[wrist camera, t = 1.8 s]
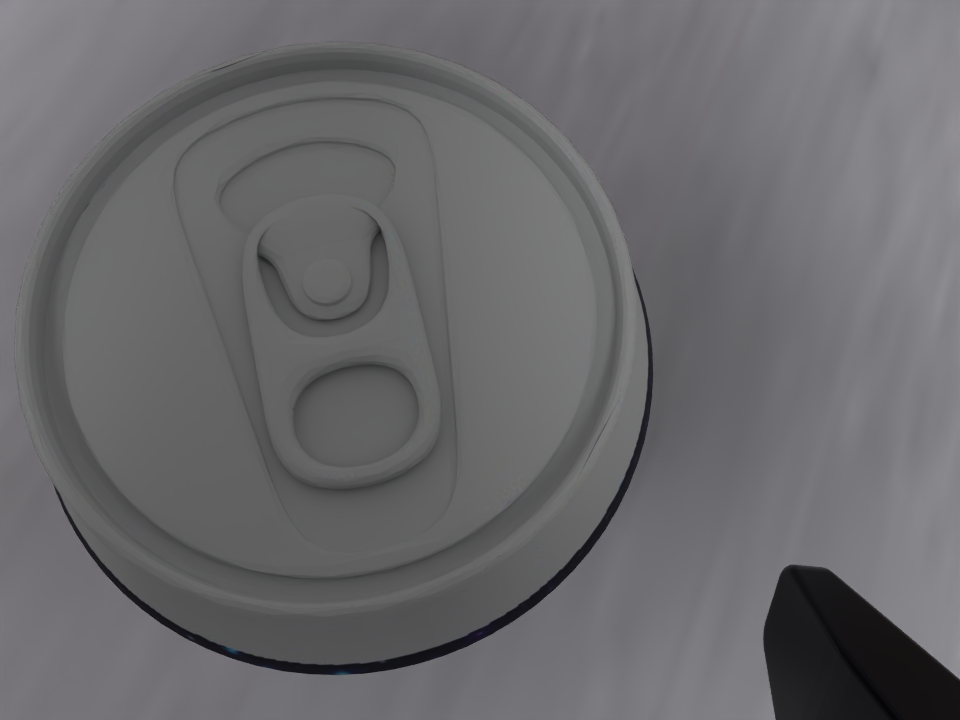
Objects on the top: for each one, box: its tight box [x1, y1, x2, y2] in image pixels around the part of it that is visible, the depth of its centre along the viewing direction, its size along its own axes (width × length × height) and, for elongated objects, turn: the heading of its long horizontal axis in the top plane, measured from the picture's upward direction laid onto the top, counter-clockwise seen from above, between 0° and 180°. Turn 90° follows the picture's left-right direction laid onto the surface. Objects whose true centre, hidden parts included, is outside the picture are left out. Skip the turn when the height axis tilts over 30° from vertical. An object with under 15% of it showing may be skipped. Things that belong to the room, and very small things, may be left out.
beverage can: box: [14, 42, 653, 675], centre depth 12 cm, size 6×6×12 cm
